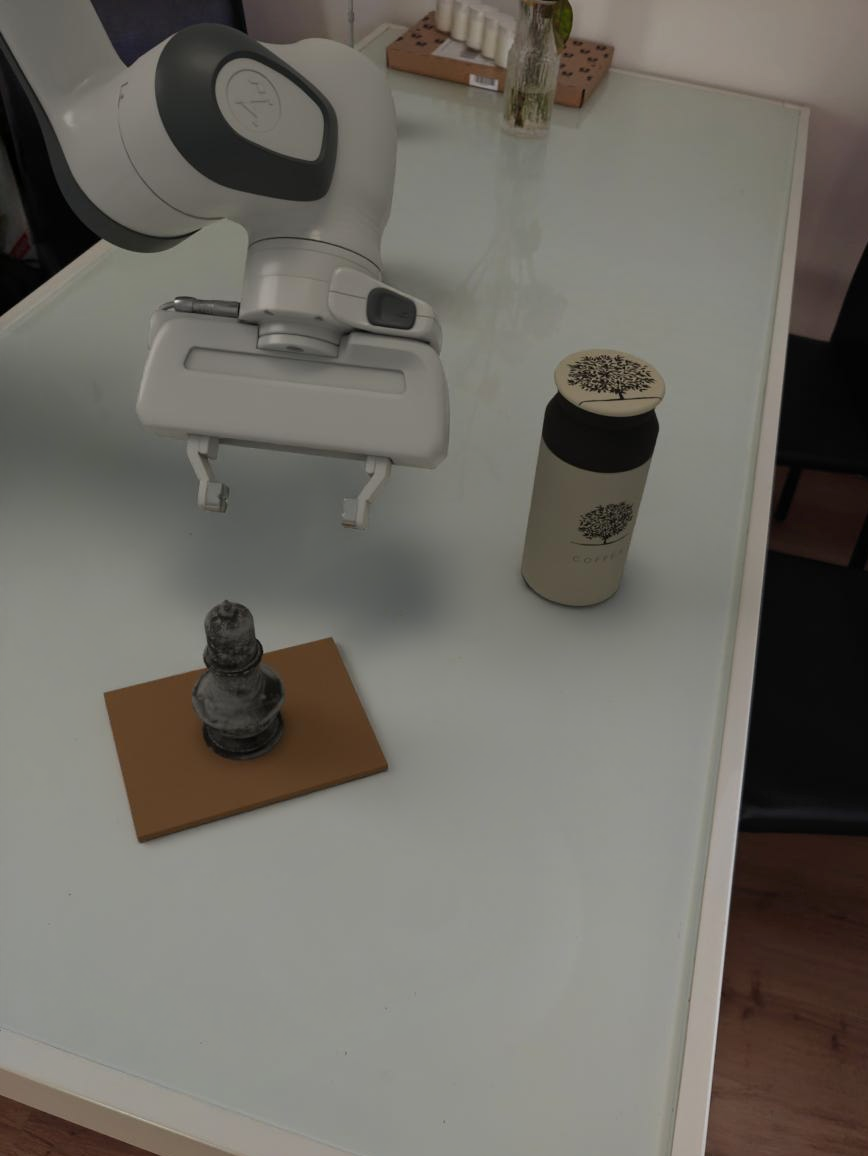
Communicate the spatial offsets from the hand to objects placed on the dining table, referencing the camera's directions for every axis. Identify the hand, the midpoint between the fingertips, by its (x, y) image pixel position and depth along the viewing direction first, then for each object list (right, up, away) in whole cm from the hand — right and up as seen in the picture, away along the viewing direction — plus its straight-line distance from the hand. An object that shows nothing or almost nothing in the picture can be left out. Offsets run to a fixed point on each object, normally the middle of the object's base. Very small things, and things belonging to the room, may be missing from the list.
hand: (282, 519), depth 67 cm
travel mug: (+20, -3, +15) cm, 25 cm away
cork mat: (-3, -14, +2) cm, 14 cm away
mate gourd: (-5, +60, +70) cm, 93 cm away
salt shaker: (-3, -14, +1) cm, 14 cm away
